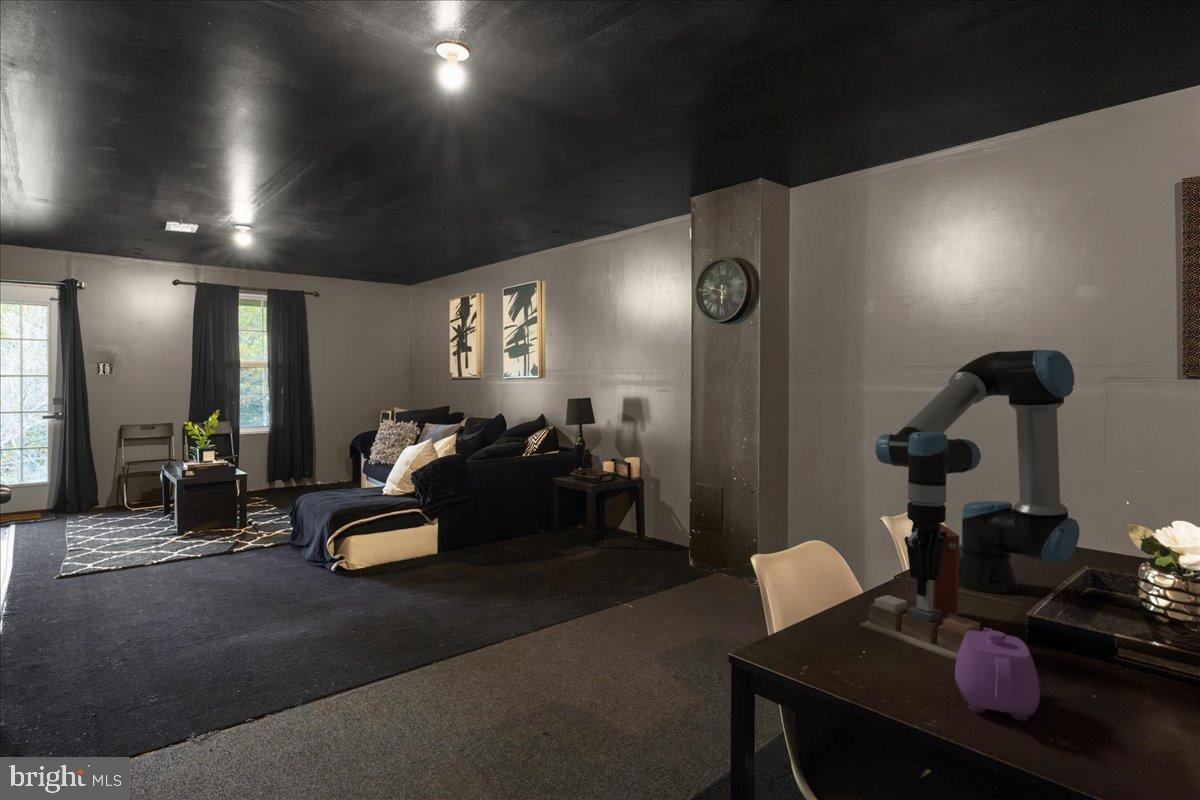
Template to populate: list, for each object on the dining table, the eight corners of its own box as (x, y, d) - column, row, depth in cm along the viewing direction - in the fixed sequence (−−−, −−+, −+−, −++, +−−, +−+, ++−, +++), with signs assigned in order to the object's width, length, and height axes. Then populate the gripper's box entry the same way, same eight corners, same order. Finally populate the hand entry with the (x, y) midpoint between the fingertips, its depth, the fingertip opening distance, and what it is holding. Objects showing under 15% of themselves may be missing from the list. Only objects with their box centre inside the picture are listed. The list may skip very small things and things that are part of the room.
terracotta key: (955, 633, 138) (955, 615, 138) (979, 641, 134) (980, 622, 134) (943, 638, 135) (943, 620, 135) (967, 647, 131) (967, 627, 131)
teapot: (1050, 741, 101) (1052, 661, 100) (960, 723, 106) (961, 647, 105) (1025, 686, 119) (1027, 618, 119) (949, 673, 124) (951, 608, 124)
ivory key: (886, 611, 152) (887, 594, 151) (907, 618, 147) (907, 600, 147) (874, 615, 149) (874, 598, 149) (894, 622, 145) (894, 605, 145)
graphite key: (919, 622, 145) (919, 604, 145) (941, 629, 141) (941, 611, 141) (907, 626, 142) (907, 608, 142) (929, 634, 138) (929, 615, 138)
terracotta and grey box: (941, 607, 160) (963, 630, 145) (911, 605, 161) (929, 628, 147) (943, 522, 159) (965, 536, 145) (913, 521, 161) (931, 535, 146)
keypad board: (889, 615, 155) (889, 596, 155) (995, 650, 135) (995, 628, 135) (859, 625, 148) (859, 606, 148) (965, 663, 128) (966, 641, 128)
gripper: (926, 497, 147) (924, 599, 148) (893, 503, 140) (891, 609, 141) (959, 502, 141) (957, 608, 142) (926, 508, 134) (924, 620, 135)
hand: (924, 609), depth 141 cm, fingers closed
